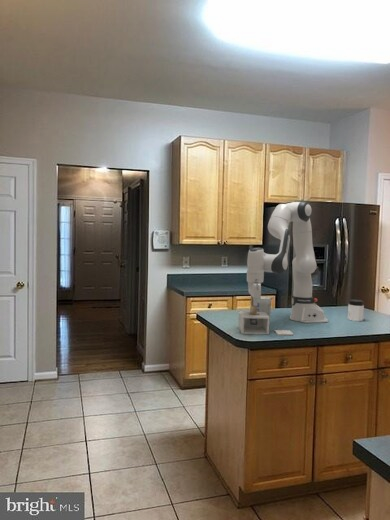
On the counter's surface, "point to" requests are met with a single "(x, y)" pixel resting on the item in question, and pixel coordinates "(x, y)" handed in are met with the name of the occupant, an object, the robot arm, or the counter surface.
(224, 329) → the counter surface
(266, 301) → the supplement tub
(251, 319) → the orange ball
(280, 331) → the tile
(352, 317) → the jar
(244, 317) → the box
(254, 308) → the rectangular block
